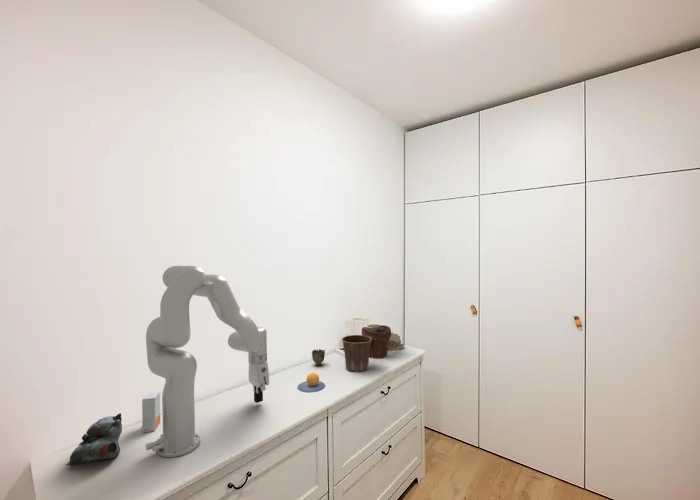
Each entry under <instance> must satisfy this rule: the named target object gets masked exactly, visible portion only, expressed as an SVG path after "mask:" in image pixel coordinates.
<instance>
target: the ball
mask: <svg viewBox="0 0 700 500" xmlns="http://www.w3.org/2000/svg"><path fill="white" fill-rule="evenodd" d="M306 381H307V383H308V384H309V385H310V386H315V385H317V384H318V382H319V381H320V376H319V374H317V373H316V372H315V371H314V372H310V373H308V375H307V376H306Z"/></svg>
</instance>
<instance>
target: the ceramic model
mask: <svg viewBox="0 0 700 500" xmlns="http://www.w3.org/2000/svg"><path fill="white" fill-rule="evenodd" d="M401 342H402V340H401V337H400V335H399V334H397V333H394V332H391V337H390V341H389V346H388V351H403V350H404V347H405V346H404V343H401Z"/></svg>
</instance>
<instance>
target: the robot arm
mask: <svg viewBox="0 0 700 500" xmlns="http://www.w3.org/2000/svg"><path fill="white" fill-rule="evenodd" d="M162 282H163V285H164V286H165V287H166V289H165V290H164V292H163V294H162V296H161V300H160V306H159V307H160V308H159V309H160V310H159V314H160V315H159V316H158V317H156V318H154V319H153V320H152V321H151V322H150V323H149V324H148V325H147V329H146V331H145V343H146V344H145V345H146V359H147V365H148V368H149V371H150V372H151V373H152V374H154V375H156V376H158V377H161V378H164V380H165V383H164V385H163V389H162V390H163V391H162V392H161V393H162V395H161V405H162V434H160V436H159V438H157V439H156V440H155V441H151V442H148V443H146V444H145V450H146V451H149V450H152V452H156V451H157V454H158V455H159V456H161V457H163V458H175V457H176V458H177V457H180V456H183V455H186V454H188V453H190V452H192V451H194V450H195V449H196V448H197V447H198V446H199V445H200V443H201V436H200V434H198V433H197V432H196V415H195V414H196V413H195V411H196V409H195V407H196V406H195V401H196V400H195V382H196V374H197V368H198V363H197V359H196V357H195V356H194V355H193V354H192V353H190V352H189V351H186V350H182V349H179V348H183V347H185V346H186V345H187V344H188V343H189V341H190V340H191V319H190V303H191V299H192V297H193V296H198V297H204V298H207V300H208V301H209V304H210V306H211V307H212V309H213V311H214V313H215V315H216V317H217V318H218V319H219V321H221V322H222V323H224V324H226V325H227V326H229V327H230V328H232V329H234V332H231V334H230V335H228V339H227V345H228V346H229V347H230V349H233V350H235V351H238V352H239V351H241V352H244V353H247V354H248V355H247V357H248V381H249V383H250V384H251V385H252V389H253V390H252V391H253V402H254V403H256V404H258V403H261V402H263V401H264V394H263V393H264V391H266V390H267V389H266V386H269V385H270V371H269V366H268V343H267V342H268V339H267V338H268V337H267V336H268V335H267V333H268V332H267V329H266V328H265V327H262V326H261V327H260V326H257V325H256V323H255V321H254V320H253V319H252V318H251V317H250V316H249V315H248V314H247V313H246V312H245V311H244V310H243V309H242V308H241V307H240V306H239V304H238V301H237V299H236V298H235V296H234V293H233V291H232V289H231V287H230V284H229V283H228V280H227V279H226V278H225V277H224V276H222V275H219V274H206V273H205V271H204V270H203V269H202V268H201V267H199V266H196V265H174V266H173V265H172V266H170V267H168V268H167V269H165V271H164V272H163V274H162Z"/></svg>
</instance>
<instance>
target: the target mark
mask: <svg viewBox="0 0 700 500" xmlns="http://www.w3.org/2000/svg"><path fill="white" fill-rule="evenodd" d="M296 387H297V390H298V391H300V392H303V393H315V392H320V391H322V390H323V389H325V387H326V383H324V382H323V381H320V380H319V382H318V384H317V385H315V386H310V385H309V384H308V383H307V380H305V381H303V382H301V383H299V384H298V385H297V386H296Z"/></svg>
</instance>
